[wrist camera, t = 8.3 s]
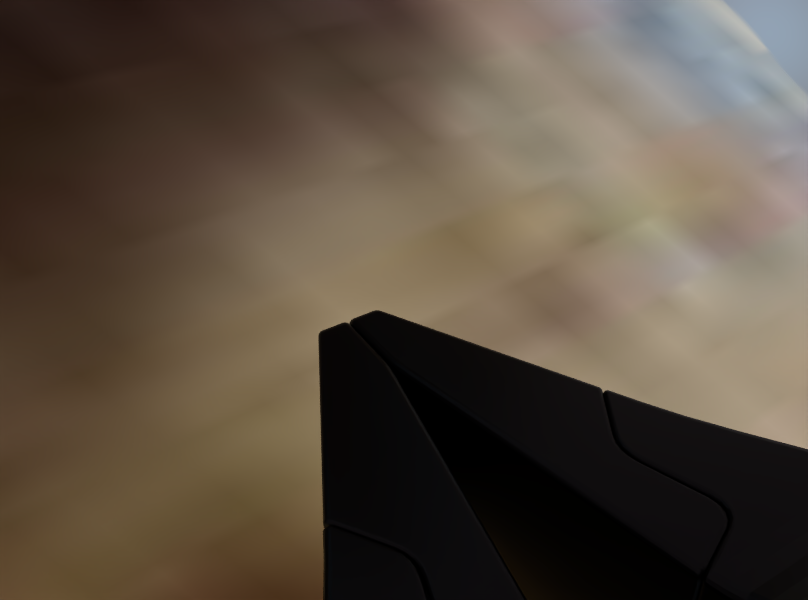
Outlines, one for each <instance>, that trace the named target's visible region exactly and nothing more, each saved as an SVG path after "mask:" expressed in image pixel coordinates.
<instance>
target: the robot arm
mask: <svg viewBox="0 0 808 600" xmlns="http://www.w3.org/2000/svg"><path fill="white" fill-rule="evenodd" d="M319 375H320V414H321V453H322V491H323V525H324V528H325V529H324V530H323V548H324V583H323V600H808V449H805V448H801V447H797V446H793V445H789V444H786V443H782V442H778V441H774V440H770V439H767V438H763V437H759V436H755V435H751V434H748V433H744V432H740V431H736V430H733V429H729V428H726V427H722V426H719V425H715V424H712V423H708V422H705V421H701V420H698V419H694V418H690V417H687V416H684V415H680V414H677V413H674V412H671V411H668V410H665V409H662V408H659V407H656V406H653V405H650V404H647V403H644V402H641V401H637V400H635V399H632V398H629V397H626V396H623V395H620V394H617V393H615V392H612V391H609V390H606V391H604V393H603V391H602V389H601V388H599V387H597V386H594V385H591V384H588V383H585V382H582V381H580V380H577V379H574V378H571V377H568V376H565V375H562V374H560V373H557V372H554V371H551V370H548V369H545V368H542V367H540V366H537V365H534V364H531V363H528V362H525V361H522V360H520V359H517V358H514V357H511V356H508V355H505V354H502V353H500V352H497V351H494V350H491V349H488V348H485V347H482V346H480V345H477V344H474V343H471V342H468V341H465V340H462V339H460V338H457V337H454V336H451V335H448V334H445V333H442V332H440V331H437V330H434V329H431V328H428V327H425V326H422V325H420V324H417V323H414V322H411V321H408V320H405V319H402V318H399V317H397V316H394V315H391V314H388V313H385V312H382V311H378V310H376V311H372V312H370V313H367V314H364V315H362V316H359V317H357V318H354V319H352V320H351V321H350V324H349V323H341V324H338V325H336V326H333V327H331V328H328V329H325V330H323V331H321V332H320V333H319Z"/></svg>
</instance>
